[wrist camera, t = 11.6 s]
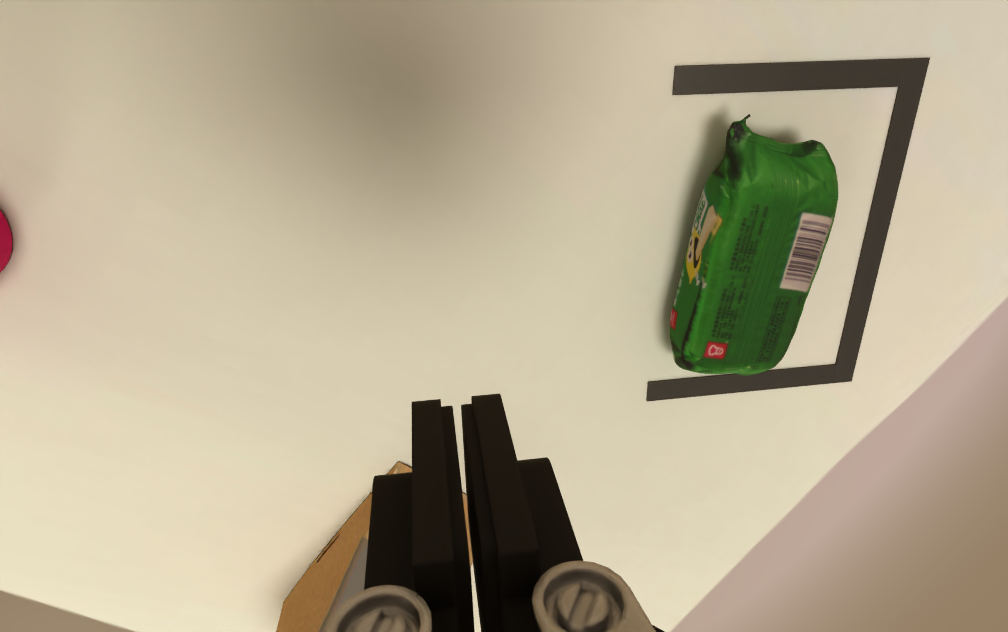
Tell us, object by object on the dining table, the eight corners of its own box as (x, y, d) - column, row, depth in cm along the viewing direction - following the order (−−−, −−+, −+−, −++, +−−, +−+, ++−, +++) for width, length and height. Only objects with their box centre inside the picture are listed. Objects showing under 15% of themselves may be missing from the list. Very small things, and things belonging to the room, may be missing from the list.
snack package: (816, 127, 36) (876, 139, 31) (744, 362, 42) (786, 402, 37) (704, 113, 35) (749, 124, 30) (647, 357, 41) (677, 398, 36)
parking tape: (674, 66, 34) (675, 66, 34) (928, 57, 35) (930, 58, 35) (646, 400, 42) (647, 401, 42) (850, 380, 44) (851, 381, 44)
